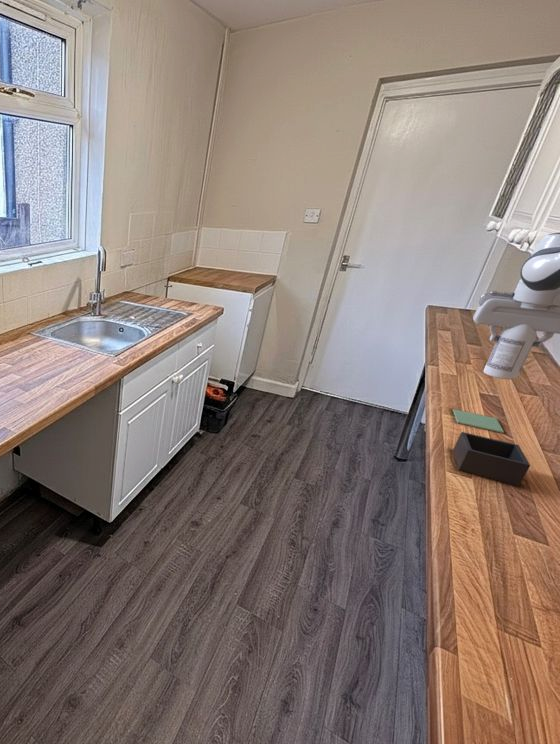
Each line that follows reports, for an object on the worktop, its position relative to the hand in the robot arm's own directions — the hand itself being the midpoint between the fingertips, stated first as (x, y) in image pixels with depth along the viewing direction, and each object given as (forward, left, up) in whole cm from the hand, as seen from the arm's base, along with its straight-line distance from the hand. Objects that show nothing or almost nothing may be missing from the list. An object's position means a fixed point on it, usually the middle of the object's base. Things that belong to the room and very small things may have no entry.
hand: (514, 344), depth 115 cm
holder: (+3, +31, -25) cm, 40 cm away
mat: (0, 0, -25) cm, 25 cm away
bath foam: (0, 0, -10) cm, 10 cm away
